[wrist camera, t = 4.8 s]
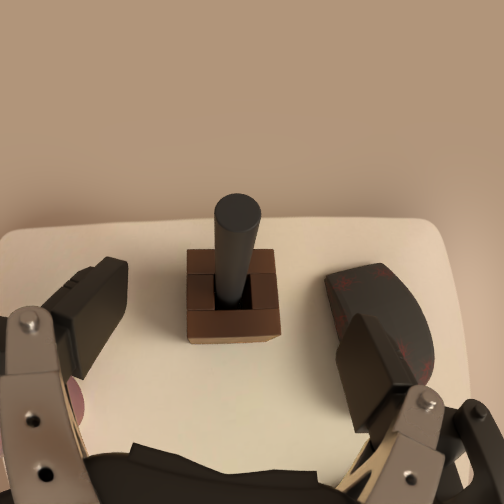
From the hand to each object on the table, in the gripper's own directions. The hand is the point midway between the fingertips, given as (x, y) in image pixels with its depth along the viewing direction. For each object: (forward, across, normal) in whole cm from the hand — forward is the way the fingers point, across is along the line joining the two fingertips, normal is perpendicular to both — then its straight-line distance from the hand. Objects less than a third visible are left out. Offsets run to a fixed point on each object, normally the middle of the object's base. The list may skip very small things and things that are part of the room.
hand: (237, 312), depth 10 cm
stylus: (+12, 0, +8) cm, 14 cm away
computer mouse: (+12, -13, +8) cm, 20 cm away
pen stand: (+12, 0, +8) cm, 14 cm away
